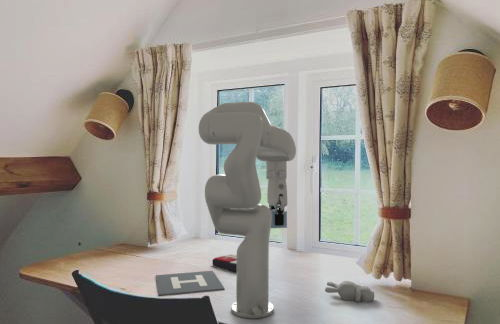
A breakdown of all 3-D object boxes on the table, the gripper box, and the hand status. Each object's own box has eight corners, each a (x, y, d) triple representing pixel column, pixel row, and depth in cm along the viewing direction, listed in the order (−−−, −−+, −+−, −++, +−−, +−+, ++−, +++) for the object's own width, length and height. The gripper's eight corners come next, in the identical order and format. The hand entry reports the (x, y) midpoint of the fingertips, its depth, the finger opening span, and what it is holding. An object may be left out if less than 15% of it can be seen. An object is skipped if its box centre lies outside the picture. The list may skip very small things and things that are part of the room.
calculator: (231, 253, 168) (254, 257, 157) (231, 263, 167) (255, 268, 157) (211, 257, 160) (235, 262, 149) (212, 267, 160) (235, 273, 149)
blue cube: (286, 227, 137) (286, 211, 137) (271, 228, 135) (271, 211, 136) (281, 225, 143) (281, 209, 143) (266, 225, 141) (266, 209, 141)
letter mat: (224, 289, 129) (224, 288, 129) (158, 296, 123) (158, 294, 123) (212, 271, 150) (212, 270, 150) (156, 276, 144) (156, 275, 144)
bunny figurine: (375, 293, 114) (325, 283, 119) (373, 310, 115) (323, 299, 119) (374, 284, 124) (328, 274, 128) (372, 299, 124) (326, 289, 128)
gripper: (294, 175, 132) (294, 227, 132) (278, 174, 149) (278, 220, 148) (274, 175, 130) (273, 228, 130) (260, 174, 147) (259, 221, 146)
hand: (276, 223), depth 139 cm, fingers closed on blue cube, 6 cm apart
